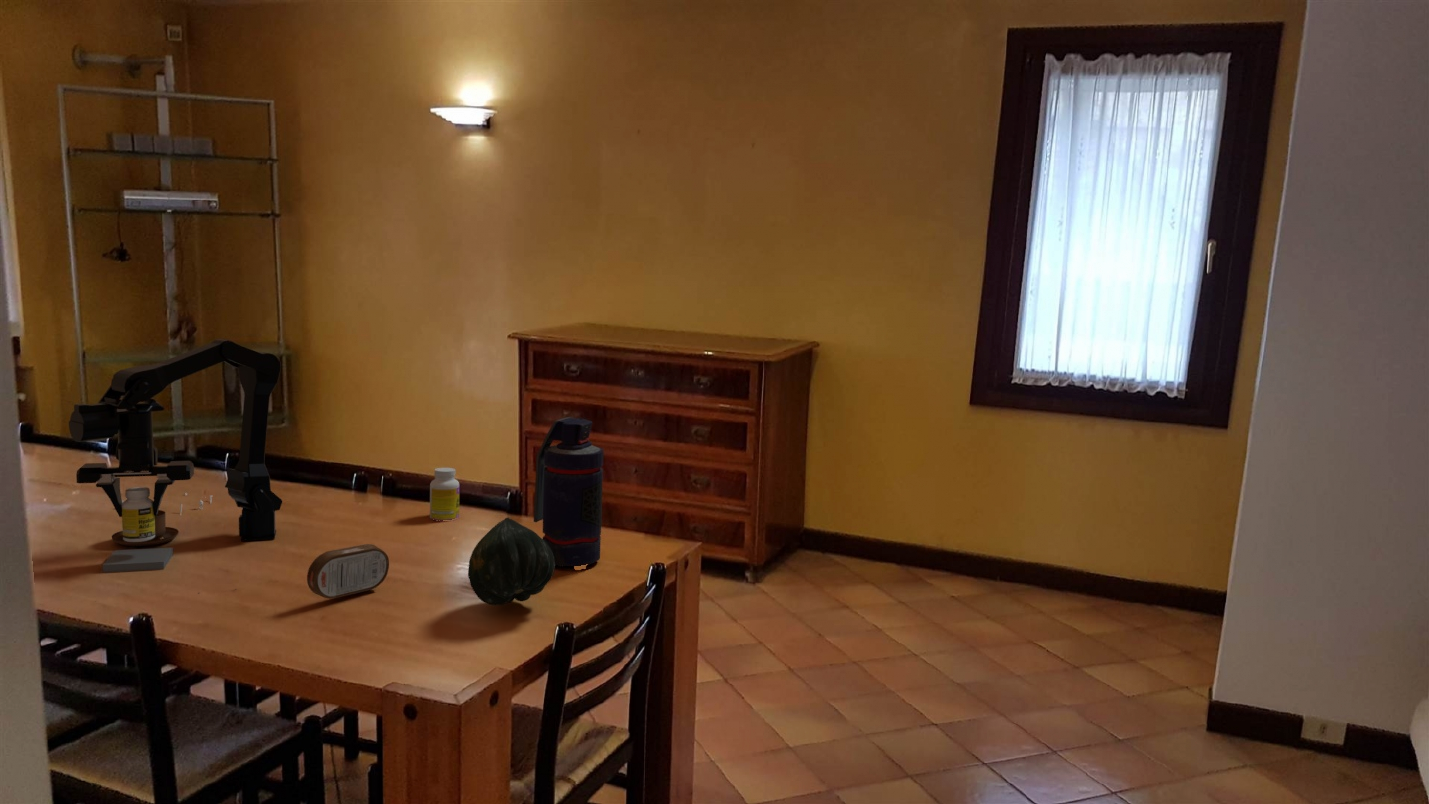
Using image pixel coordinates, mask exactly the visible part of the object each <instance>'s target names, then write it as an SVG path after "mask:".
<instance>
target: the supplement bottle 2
mask: <svg viewBox="0 0 1429 804" xmlns="http://www.w3.org/2000/svg"><path fill="white" fill-rule="evenodd" d="M455 475H456V469H455V468H453V467H438V468H435V469H434V477H435V478H434V479H432V480H431V482H430V484H429V519H430V518H431V519H434V520H440V521H443V520H452V519H455V518H458V517H459V518H460V482H459V481H458V479H456V478H455ZM459 518H458V519H459ZM431 519H430V520H431Z"/></svg>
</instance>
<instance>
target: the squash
mask: <svg viewBox="0 0 1429 804" xmlns="http://www.w3.org/2000/svg"><path fill="white" fill-rule="evenodd" d="M555 566H556V565H555V561H554V556H553V553H552V551H551V549H550V547H549V546H548V544H547V543H546V542H545V541H544V540H543V537H541V536H539V535H538V533H536V532H535V531H534V530H532V529H530V528H529V527H527V526H525V525H523V524H521V523H519V522H517V521H516V520H515V519H512V518H510V517H505V518H504V519H502V520H500V521H499V522H497V524H495V525H494V526H493V527H492V528H491V529H489V531H488V532H487V533H486V534H485V535H484V536H483V537H481V538H480V540H479V541H478V542H477V543H476V545H475V547H474V548H473V550H472V552H471V554H470V557H469V561H468V569H467V570H468V571H467V574H468V580H469V584H470V587H471V589H472V590H473V593H474V594H475V595H476V596H477V598H478V599H479V600H481V601H482V602H483V603H485V604H487V605H491V606H503V605H505V604H510V603H512V602H514V599H515V601H518V602H525V601H528V600H529V599H530V598H531V596H534V595H538V594H540V593H541V592H542V591H543V590H544V589H545V587H546V586H547V584H548V583H549V582H550V581H551V579H552V578H553V575H554V571H555V568H556V567H555Z"/></svg>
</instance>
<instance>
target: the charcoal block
mask: <svg viewBox="0 0 1429 804" xmlns="http://www.w3.org/2000/svg"><path fill="white" fill-rule="evenodd" d="M173 555H174V547H161V548H160V547H158V548H139V549H138V548H137V549H116V550H114V551H113V552H112V553H111V554H110V556H109V557H108V558H107V559H106V561H104V563H103V564H102V573H104V574H107V573H121V572H123V573H125V572H139V571H140V572H141V571H143V572H144V571H158V570H159V571H163V570H165V568H166V566H167V565H168V564H169V562H170V560H171V559H172V557H173Z"/></svg>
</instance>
